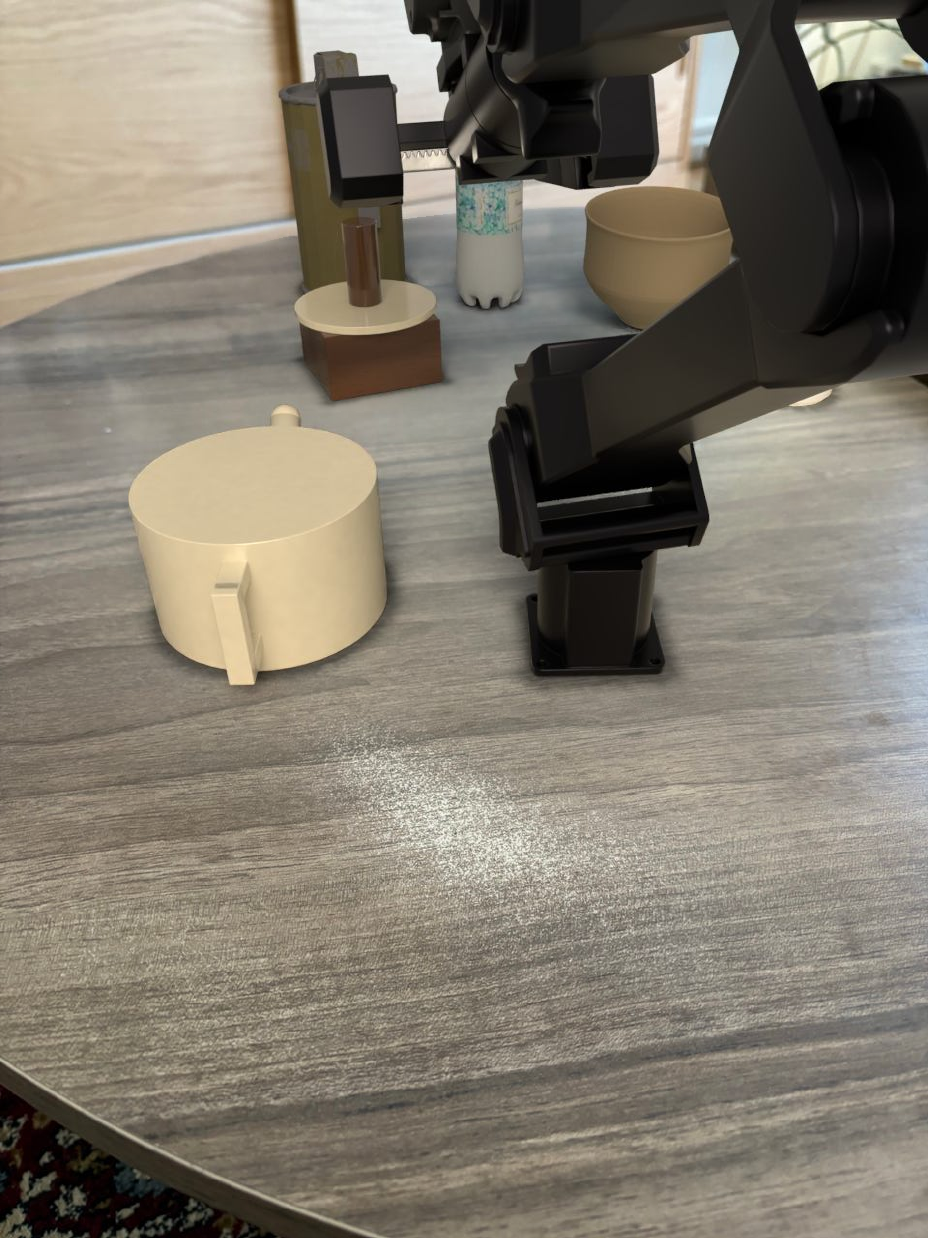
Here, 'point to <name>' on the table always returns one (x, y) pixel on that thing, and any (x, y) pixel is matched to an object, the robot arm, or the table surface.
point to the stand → (374, 359)
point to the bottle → (489, 242)
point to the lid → (364, 292)
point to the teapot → (262, 545)
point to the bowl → (653, 248)
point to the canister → (311, 192)
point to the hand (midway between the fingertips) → (462, 174)
